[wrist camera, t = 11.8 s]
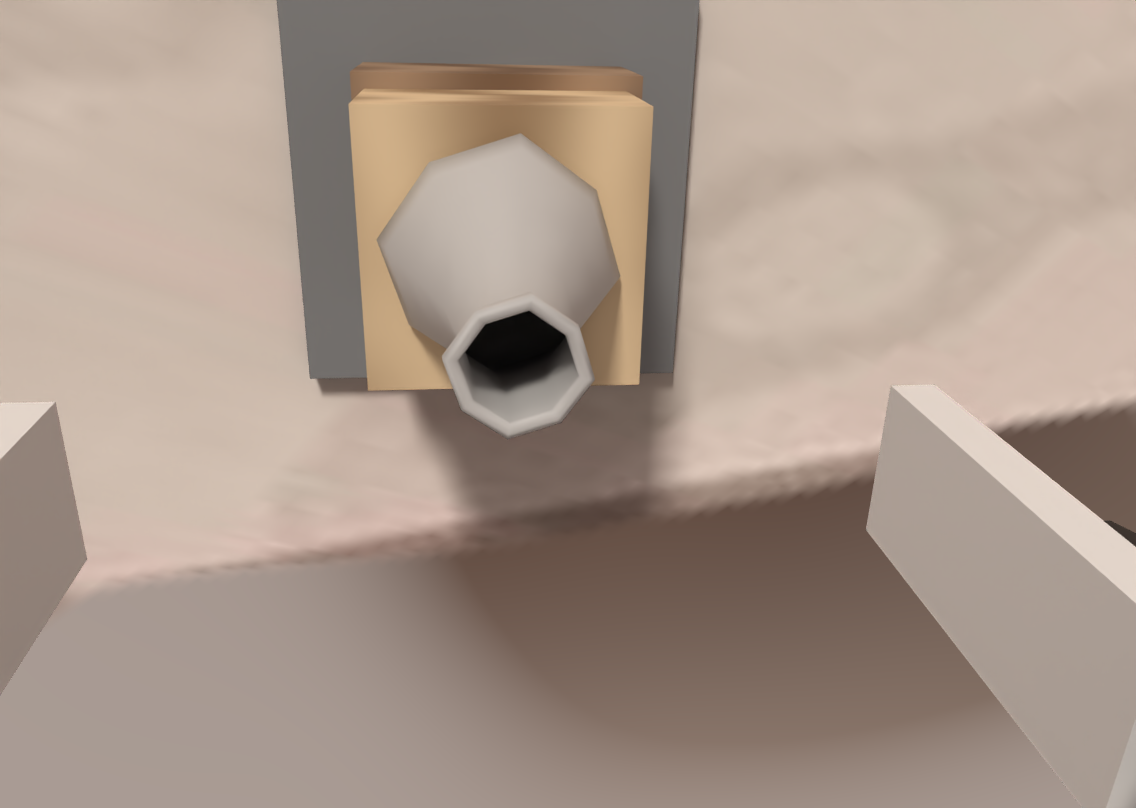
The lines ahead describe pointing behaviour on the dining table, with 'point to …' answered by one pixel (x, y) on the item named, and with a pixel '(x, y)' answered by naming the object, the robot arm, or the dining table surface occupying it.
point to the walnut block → (493, 77)
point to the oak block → (471, 119)
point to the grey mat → (471, 36)
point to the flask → (503, 278)
